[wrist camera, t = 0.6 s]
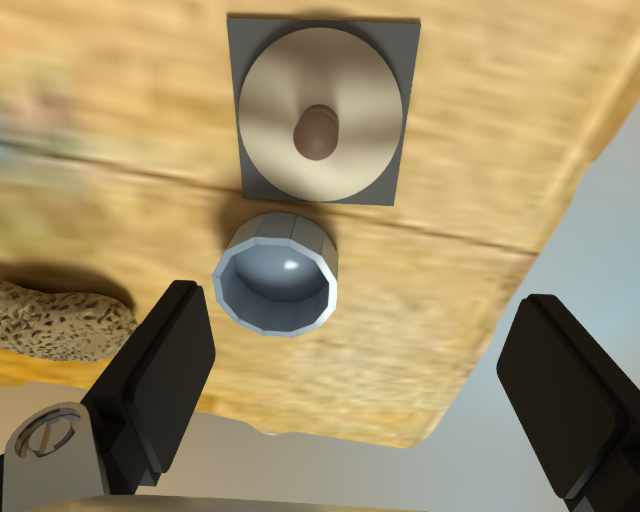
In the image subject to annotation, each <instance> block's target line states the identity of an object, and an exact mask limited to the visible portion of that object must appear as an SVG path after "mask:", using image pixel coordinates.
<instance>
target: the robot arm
mask: <svg viewBox="0 0 640 512" xmlns="http://www.w3.org/2000/svg"><path fill="white" fill-rule="evenodd" d="M214 361H215V346H214V341H213V336H212V331H211V326H210V321H209V316H208V311H207V306H206V301H205V296H204V291H203V288H202V286H197V283H196V282H195V281H190V280H174V281H173V282H172V283H171V285H170V286H169V287H168V289H167V290H166V291H165V293H164V294H163V295H162V297H161V298H160V299H159V301H158V302H157V303H156V305H155V306H154V307H153V309H152V310H151V311H150V313H149V314H148V315H147V317H146V318H145V319H144V321H143V322H142V323H141V324H140V325H139V326H138V327H137V328H136V329H135V330H134V332H133V333H132V334H131V336H130V337H129V338H128V340H127V341H126V342H125V344H124V345H123V346H122V348H121V349H120V350H119V352H118V353H117V354H116V356H115V357H114V358H113V360H112V361H111V362H110V364H109V365H108V366H107V367H106V369H105V370H104V371H103V373H102V374H101V375H100V377H99V378H98V379H97V381H96V382H95V383H94V385H93V386H92V387H91V389H90V390H89V391H88V393H87V394H86V395H85V397H84V398H83V399H82V401H81V402H80V403H77V402H63V403H58V404H55V405H52V406H49V407H46V408H44V409H43V410H41V411H39V412H37V413H35V414H34V415H32V416H31V417H30V418H28V419H27V420H25V421H24V422H23V423H22V424H21V425H20V426H19V427H18V428H17V429H16V430H15V431H14V432H13V434H12V435H11V437H10V439H9V440H8V442H7V445H6V448H5V453H4V454H2V455H0V512H426V511H411V510H396V509H381V508H366V507H351V506H336V505H335V506H334V505H320V504H304V503H288V502H273V501H256V500H240V499H224V498H207V497H205V498H204V497H182V496H160V495H159V496H158V495H134V494H135V492H136V490H137V488H138V486H139V485H140V486H156V485H157V482H158V480H159V478H160V475H161V473H166V472H167V471H168V469H169V468H170V466H171V464H172V461H173V459H174V457H175V454H176V452H177V450H178V447H179V445H180V442H181V440H182V437H183V435H184V433H185V430H186V428H187V426H188V423H189V421H190V418H191V416H192V414H193V411H194V409H195V407H196V404H197V402H198V399H199V397H200V395H201V392H202V390H203V387H204V385H205V383H206V380H207V378H208V375H209V373H210V371H211V368H212V366H213V363H214ZM496 369H497V375H498V378H499V379H500V382H501V384H502V386H503V388H504V390H505V392H506V394H507V396H508V398H509V400H510V402H511V404H512V406H513V408H514V410H515V412H516V414H517V416H518V419H519V421H520V423H521V425H522V426H523V429H524V431H525V433H526V435H527V437H528V439H529V441H530V443H531V445H532V447H533V449H534V451H535V454H536V455H537V457H538V460H539V462H540V464H541V466H542V468H543V470H544V472H545V474H546V476H547V478H548V480H549V482H550V484H551V486H552V488H553V490H554V492H555V494H556V495H557V496H558V497H559V498H562V499H563V500H564V502H565V504H566V506H567V508H568V510H569V511H570V512H640V390H639V389H638V388H637V387H636V385H635V384H634V383H633V382H632V381H631V380H630V379H629V378H628V376H627V375H626V374H625V373H624V372H623V371H622V370H621V369H620V368H619V367H618V365H617V364H616V363H615V362H614V361H613V360H612V359H611V357H610V356H609V355H608V354H607V353H606V352H605V351H604V350H603V348H602V347H601V346H600V345H599V344H598V343H597V342H596V341H595V340H594V338H593V337H592V336H591V335H590V334H589V333H588V332H587V330H586V329H585V328H584V327H583V326H582V325H581V324H580V323H579V322H578V320H577V319H576V318H575V317H574V316H573V315H572V314H571V313H570V311H569V310H568V309H567V308H566V307H565V306H564V305H563V303H562V302H561V301H560V300H559V299H558V298H557V297H556V296H554V295H549V294H530V295H529V296H528V297H527V299H523V300H522V301H521V303H520V305H519V307H518V310H517V313H516V315H515V318H514V321H513V323H512V326H511V328H510V331H509V334H508V336H507V339H506V341H505V344H504V347H503V350H502V352H501V355H500V357H499V360H498V362H497V368H496Z"/></svg>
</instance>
